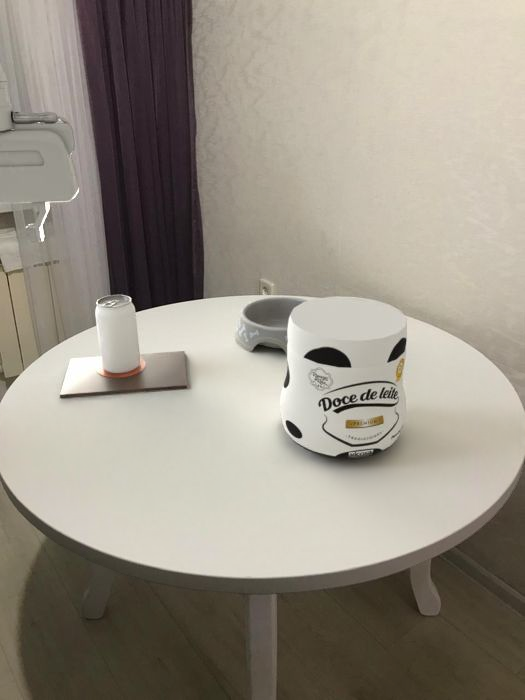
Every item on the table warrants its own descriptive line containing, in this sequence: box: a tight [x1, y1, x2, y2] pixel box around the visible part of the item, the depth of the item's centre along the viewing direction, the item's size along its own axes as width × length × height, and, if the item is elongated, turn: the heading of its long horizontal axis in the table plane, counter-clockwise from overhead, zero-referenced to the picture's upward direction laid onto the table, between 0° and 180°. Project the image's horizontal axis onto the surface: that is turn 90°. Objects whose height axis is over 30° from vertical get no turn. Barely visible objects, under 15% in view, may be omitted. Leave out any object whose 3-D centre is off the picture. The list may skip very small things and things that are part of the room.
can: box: [94, 294, 141, 374], centre depth 99 cm, size 6×6×12 cm
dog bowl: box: [234, 296, 309, 356], centre depth 113 cm, size 17×18×5 cm
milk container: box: [279, 295, 408, 460], centre depth 80 cm, size 17×17×18 cm
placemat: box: [59, 350, 188, 399], centre depth 100 cm, size 20×13×1 cm, turn 99°
